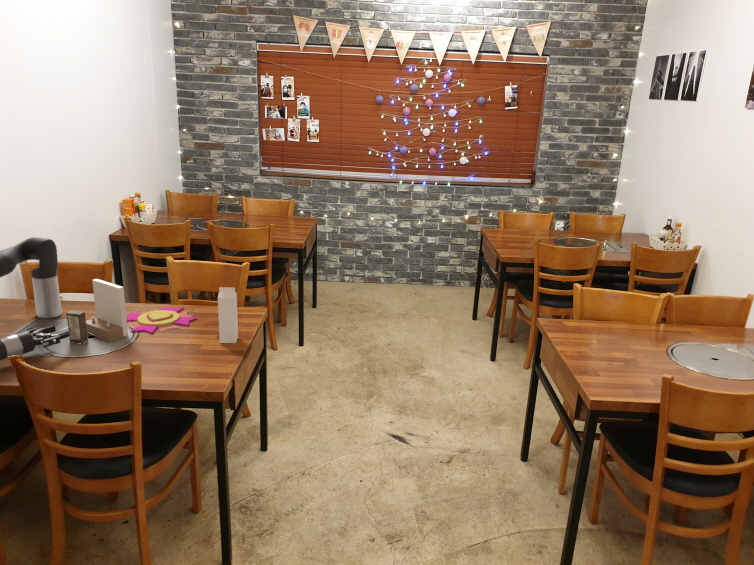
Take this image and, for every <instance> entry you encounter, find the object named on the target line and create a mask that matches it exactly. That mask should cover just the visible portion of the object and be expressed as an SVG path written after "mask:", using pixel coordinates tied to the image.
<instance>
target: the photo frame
mask: <svg viewBox="0 0 754 565" xmlns="http://www.w3.org/2000/svg"><path fill="white" fill-rule="evenodd" d="M66 320H67V321H66V322H67V328H68V330H67V331H68V332H69V337H68V338H69V343H70V342H74V343H73V344H76V343H81V344H80V345H84V344H85V343H84V342H86V341H88V342H89V338H88V333H87V327H86V321H87V319H86V312H85V311H82V310H81V311H79V310H69V311H67V312H66ZM83 343H84V344H83ZM86 343H87V342H86Z"/></svg>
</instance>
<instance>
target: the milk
mask: <svg viewBox="0 0 754 565" xmlns="http://www.w3.org/2000/svg"><path fill="white" fill-rule="evenodd" d="M218 290H219V291H218V296H217V311H218V314H217V315H218V331H219V334H218V335H219V344H220V343H235V344H236V343H237V341H238V340H239V324H238V318H239V317H238V293H237V292H236V288H235V287H226V286H225V287H223V286H220V287H219V288H218ZM237 339H238V340H237Z"/></svg>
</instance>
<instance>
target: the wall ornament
mask: <svg viewBox="0 0 754 565" xmlns="http://www.w3.org/2000/svg"><path fill="white" fill-rule="evenodd" d="M184 309H185V307H184V306H183V307H182V306H181V307H170V306H166V305H165V306H163V308H161V309H160V310H158V308H154V309H151V310H149V311H138V312H131V311H130V312H129V316H126V319H127V326H128V325H129V326H128V328H129V327H131V326H132V327H134V328H133V329H130V333H141V332H143V333H147V334H151V335H153V334H154V333H155V332H156V330H157V329H159V331H160V332H161V333H164V332H166V331H168V330H173V329H174V330H175V329H176V330H178V328H181V327H179V326H182V325H184V326H183V327H189V326H190V323H191V322H194V321H196V320H198V317H197V316H195V317H193V316H194V315H191V314H188V312H187V311H188V310H186V311H183V310H184ZM193 320H194V321H193ZM190 321H191V322H190ZM175 324H176V325H175ZM135 331H136V332H135Z"/></svg>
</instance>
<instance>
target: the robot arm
mask: <svg viewBox="0 0 754 565" xmlns="http://www.w3.org/2000/svg"><path fill="white" fill-rule="evenodd" d="M31 260H33V261H38V263H39V264H38V267H35V268H33V269H32V270H31V272H30V273H31V274H30V275H31V280H32V281H31V282H32V287H33V288H32V289H33V297H34V299H33V300H34V304H35V311H36V317H37V318H39V319H52V318H56V317H59V316H61V315H63V311H62V304H61V303H62V302H61V295H60V294H61V293H60V288H59V279H58V268H59V263H58V262H59V260H58V249H57V245H56V242H55V241H54V240H53V239H50V238H45V237H38V236H35V237H34V236H33V237H29V238H27V239H25V240H22V241H21V242H19V243H16V244H15V245H13V246H10V247H7V248H5V249H2V250H0V278H2V277H5V276H7V275H9V274H11V273H12V272H13V271H14V270H16V267H17V266H18V264H20V263H23V262H26V261H31ZM54 332H56V325H51V326H47V327H39V326H38V327H33V328H31V329H27V330H23V331H21V332H18V333H17V332H16V333H13V334H10V335H7V336H3V337H2V338H0V362H1V361H4V360H6V359H9V358H8V356H12V355H19V356H21V355H25V354H27V353H31V352H33V351H34V350H35V348H36V346H42V348H48V347H51V346H55V345H57V344H61V340H63V339H67V338H69V330H65V331H62V332H59V333H54ZM53 333H54V334H53Z"/></svg>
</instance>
